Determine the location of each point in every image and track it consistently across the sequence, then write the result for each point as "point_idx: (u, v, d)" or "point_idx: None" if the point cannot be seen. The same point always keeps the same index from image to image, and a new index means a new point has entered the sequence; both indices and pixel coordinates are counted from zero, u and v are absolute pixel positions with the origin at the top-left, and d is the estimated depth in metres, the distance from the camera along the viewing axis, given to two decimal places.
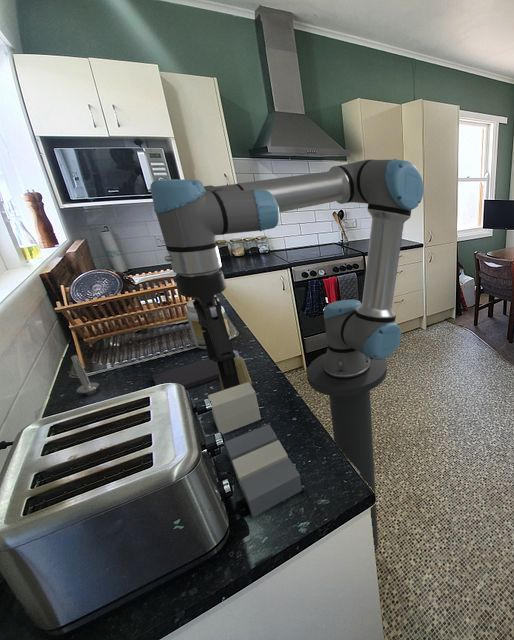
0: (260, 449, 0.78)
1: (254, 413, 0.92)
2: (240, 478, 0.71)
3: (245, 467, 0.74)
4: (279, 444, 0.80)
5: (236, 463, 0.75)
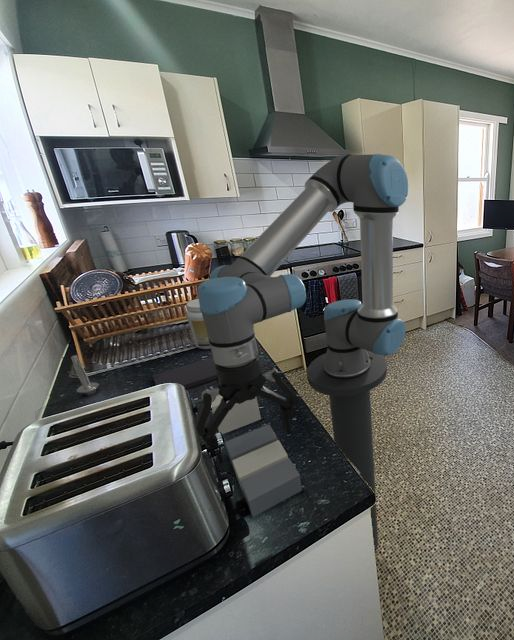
0: (260, 449, 0.78)
1: (254, 413, 0.92)
2: (240, 478, 0.71)
3: (245, 467, 0.74)
4: (279, 444, 0.80)
5: (236, 463, 0.75)
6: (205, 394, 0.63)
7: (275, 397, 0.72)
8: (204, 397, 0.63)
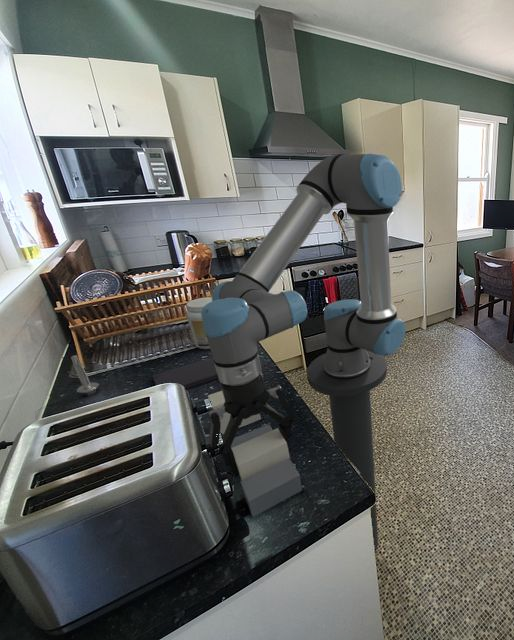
0: (259, 437, 0.77)
1: None
2: (239, 466, 0.70)
3: (244, 455, 0.73)
4: (278, 432, 0.79)
5: (235, 451, 0.74)
6: (212, 414, 0.65)
7: (276, 415, 0.74)
8: (212, 417, 0.65)
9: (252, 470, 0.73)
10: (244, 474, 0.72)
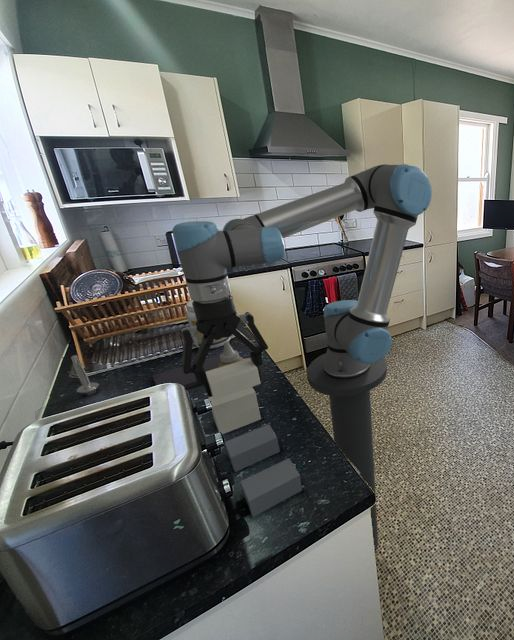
0: (231, 364, 0.83)
1: (254, 413, 0.92)
2: (211, 384, 0.76)
3: (216, 376, 0.78)
4: (250, 361, 0.84)
5: (207, 374, 0.79)
6: (184, 331, 0.71)
7: (247, 340, 0.80)
8: (184, 333, 0.71)
9: (224, 390, 0.78)
10: (216, 393, 0.77)
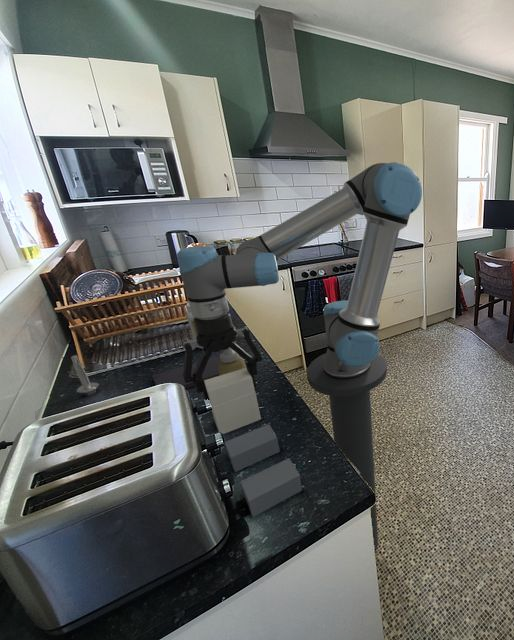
0: (228, 373, 0.90)
1: (254, 413, 0.92)
2: (208, 392, 0.83)
3: (214, 385, 0.85)
4: (245, 370, 0.92)
5: (206, 382, 0.86)
6: (185, 344, 0.78)
7: (242, 352, 0.87)
8: (185, 346, 0.78)
9: (221, 398, 0.85)
10: (213, 400, 0.85)
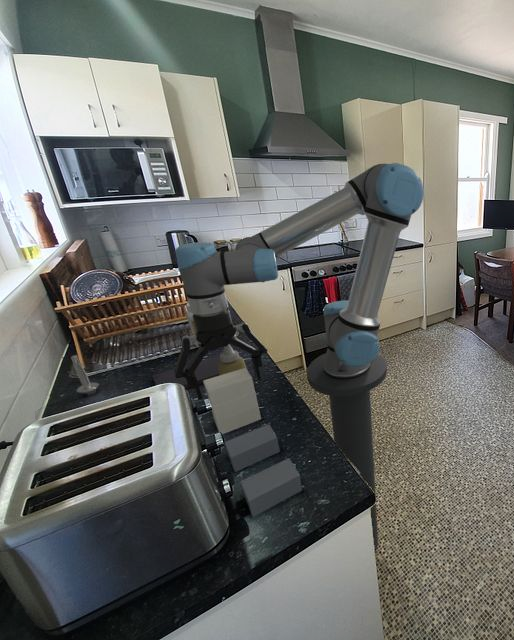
0: (228, 373, 0.90)
1: (254, 413, 0.92)
2: (208, 392, 0.83)
3: (214, 385, 0.85)
4: (245, 370, 0.92)
5: (206, 382, 0.86)
6: (184, 338, 0.78)
7: (245, 346, 0.87)
8: (184, 341, 0.78)
9: (221, 398, 0.85)
10: (213, 400, 0.84)
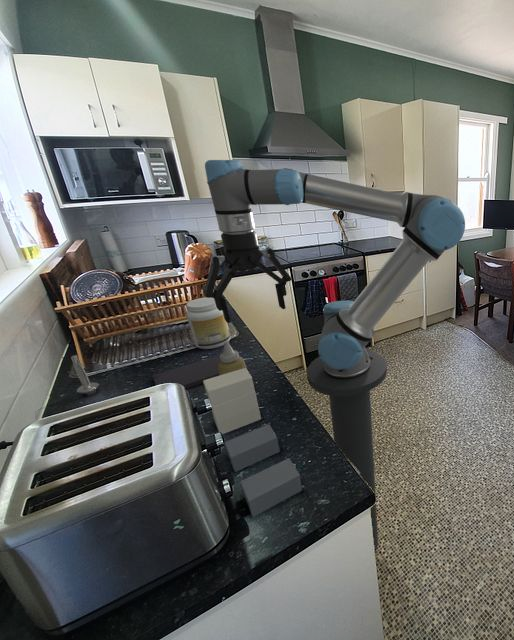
0: (228, 373, 0.90)
1: (254, 413, 0.92)
2: (208, 392, 0.83)
3: (214, 385, 0.85)
4: (245, 370, 0.92)
5: (206, 382, 0.86)
6: (214, 257, 0.79)
7: (271, 271, 0.88)
8: (213, 259, 0.79)
9: (221, 398, 0.85)
10: (213, 400, 0.84)
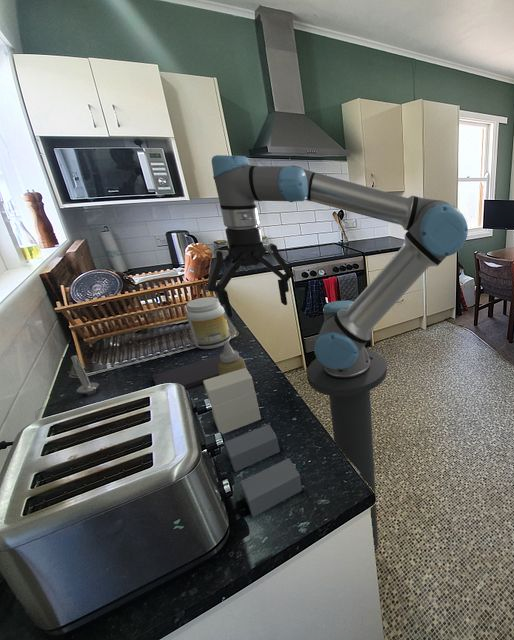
0: (228, 373, 0.90)
1: (254, 413, 0.92)
2: (208, 392, 0.83)
3: (214, 385, 0.85)
4: (245, 370, 0.92)
5: (206, 382, 0.86)
6: (218, 251, 0.80)
7: (273, 267, 0.89)
8: (217, 253, 0.80)
9: (221, 398, 0.85)
10: (213, 400, 0.84)
